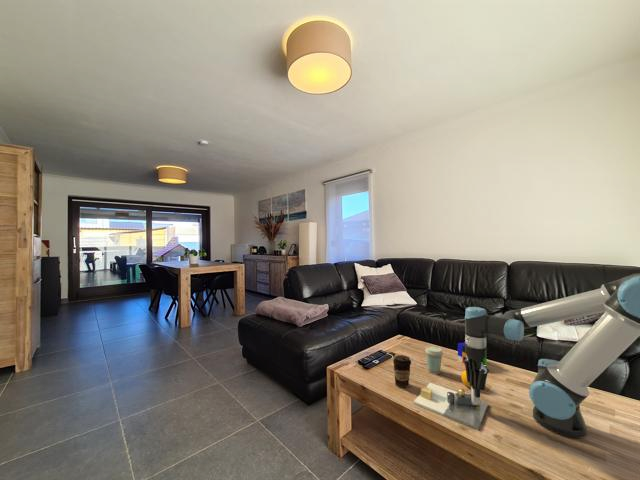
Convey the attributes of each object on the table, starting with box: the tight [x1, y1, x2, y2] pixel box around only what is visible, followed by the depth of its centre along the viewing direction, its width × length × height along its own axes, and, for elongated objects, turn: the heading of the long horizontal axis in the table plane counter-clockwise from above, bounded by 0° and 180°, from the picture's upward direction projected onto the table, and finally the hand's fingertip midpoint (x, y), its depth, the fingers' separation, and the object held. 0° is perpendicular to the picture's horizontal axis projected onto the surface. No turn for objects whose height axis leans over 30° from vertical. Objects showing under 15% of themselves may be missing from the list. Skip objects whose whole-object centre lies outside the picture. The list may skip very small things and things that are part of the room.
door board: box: [413, 382, 458, 417], centre depth 116 cm, size 12×20×4 cm, turn 139°
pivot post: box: [447, 392, 455, 404], centre depth 112 cm, size 3×3×4 cm
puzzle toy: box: [457, 342, 488, 365], centre depth 150 cm, size 10×10×10 cm
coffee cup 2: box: [425, 345, 444, 375], centre depth 140 cm, size 8×8×12 cm
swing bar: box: [455, 388, 480, 406], centre depth 111 cm, size 9×3×5 cm, turn 83°
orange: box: [461, 369, 471, 389], centre depth 126 cm, size 8×8×8 cm
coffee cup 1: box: [392, 354, 412, 389], centre depth 127 cm, size 9×8×13 cm
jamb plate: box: [443, 391, 489, 431], centre depth 108 cm, size 12×20×1 cm, turn 139°
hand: (475, 403), depth 108 cm, fingers closed
